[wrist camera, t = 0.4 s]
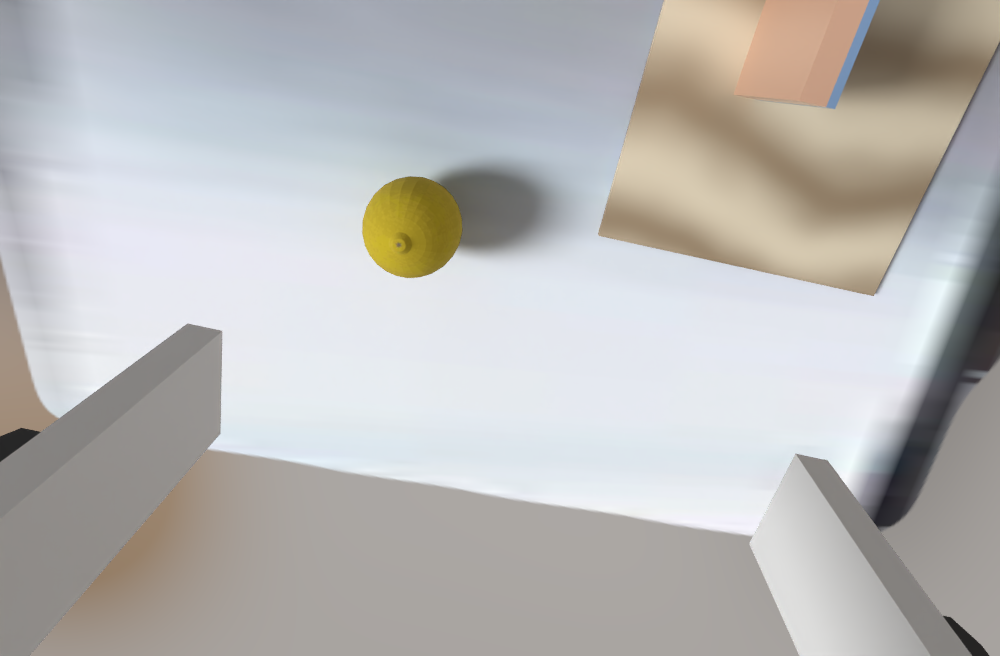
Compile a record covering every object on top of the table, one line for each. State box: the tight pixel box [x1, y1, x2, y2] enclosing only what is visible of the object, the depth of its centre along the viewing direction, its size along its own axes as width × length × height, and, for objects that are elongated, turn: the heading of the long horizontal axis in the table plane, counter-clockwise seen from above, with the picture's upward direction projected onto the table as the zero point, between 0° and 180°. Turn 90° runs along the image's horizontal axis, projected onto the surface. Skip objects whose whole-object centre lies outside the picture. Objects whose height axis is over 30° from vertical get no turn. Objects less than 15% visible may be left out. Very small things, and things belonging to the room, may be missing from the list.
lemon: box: [362, 177, 462, 278], centre depth 34 cm, size 6×6×8 cm
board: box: [598, 0, 1000, 296], centre depth 32 cm, size 28×18×1 cm, turn 168°
